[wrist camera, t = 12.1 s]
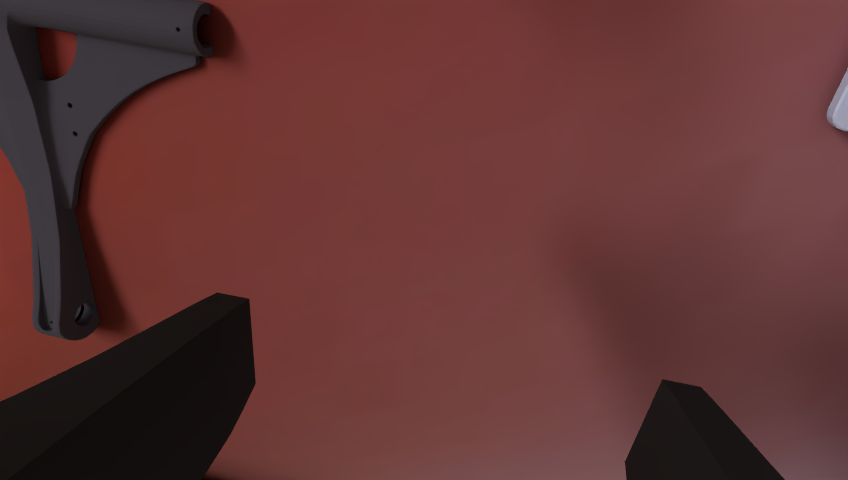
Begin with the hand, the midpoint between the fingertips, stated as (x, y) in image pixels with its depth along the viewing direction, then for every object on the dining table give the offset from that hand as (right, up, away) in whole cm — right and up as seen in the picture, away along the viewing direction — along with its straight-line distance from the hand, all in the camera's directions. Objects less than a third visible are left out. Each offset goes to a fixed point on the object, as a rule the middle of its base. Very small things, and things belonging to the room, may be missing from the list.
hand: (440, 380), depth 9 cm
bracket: (-15, +5, +12) cm, 20 cm away
